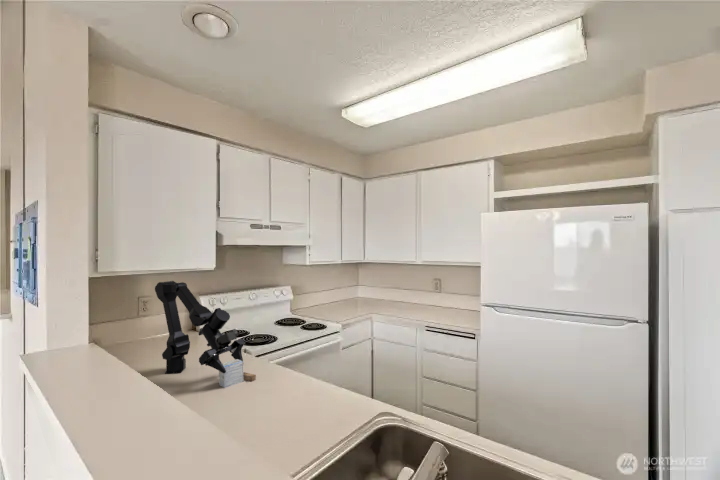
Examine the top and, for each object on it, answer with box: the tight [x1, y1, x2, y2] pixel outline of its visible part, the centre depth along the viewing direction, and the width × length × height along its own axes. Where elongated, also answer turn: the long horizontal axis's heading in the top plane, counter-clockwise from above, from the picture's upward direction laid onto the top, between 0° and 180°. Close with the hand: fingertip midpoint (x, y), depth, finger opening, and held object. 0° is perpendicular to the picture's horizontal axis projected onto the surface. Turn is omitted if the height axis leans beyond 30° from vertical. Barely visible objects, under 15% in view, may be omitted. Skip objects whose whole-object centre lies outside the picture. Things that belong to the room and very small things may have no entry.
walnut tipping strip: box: [243, 371, 257, 382], centre depth 135 cm, size 12×2×2 cm, turn 65°
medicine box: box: [218, 359, 245, 389], centre depth 130 cm, size 8×4×9 cm, turn 140°
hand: (234, 368), depth 129 cm, fingers closed on medicine box, 8 cm apart
